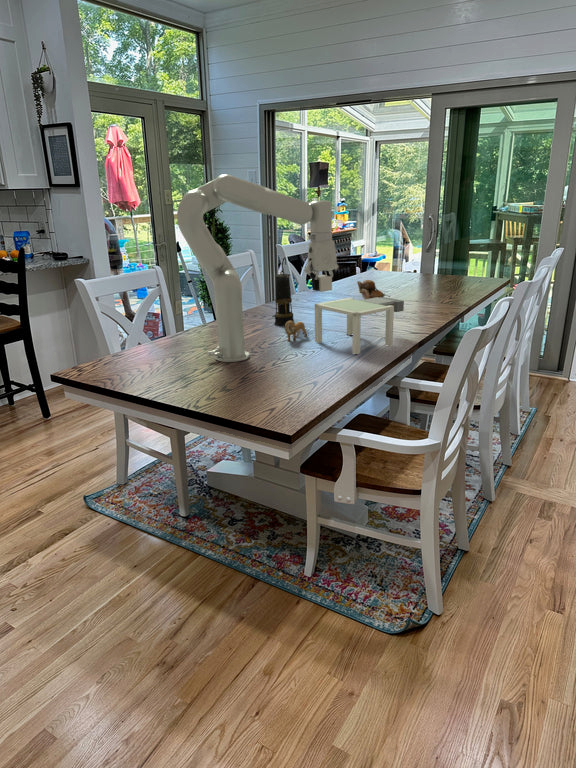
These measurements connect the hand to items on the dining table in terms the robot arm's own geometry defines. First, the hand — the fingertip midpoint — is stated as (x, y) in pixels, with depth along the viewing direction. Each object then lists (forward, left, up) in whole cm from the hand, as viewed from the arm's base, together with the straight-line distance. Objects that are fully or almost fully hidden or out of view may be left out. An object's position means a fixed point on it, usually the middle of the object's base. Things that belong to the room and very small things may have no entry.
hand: (322, 288), depth 195 cm
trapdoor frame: (+16, 0, -24) cm, 29 cm away
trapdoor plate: (+23, 0, -13) cm, 26 cm away
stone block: (0, 0, -1) cm, 1 cm away
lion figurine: (+3, +21, -24) cm, 32 cm away
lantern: (+16, +47, -24) cm, 55 cm away
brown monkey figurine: (+82, +59, -24) cm, 104 cm away
